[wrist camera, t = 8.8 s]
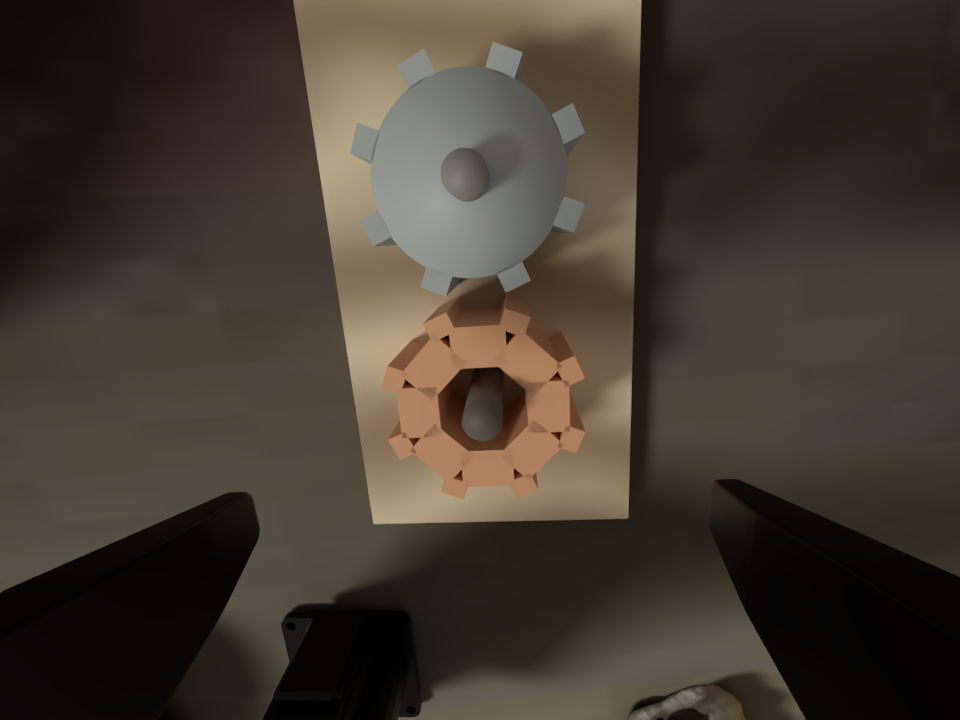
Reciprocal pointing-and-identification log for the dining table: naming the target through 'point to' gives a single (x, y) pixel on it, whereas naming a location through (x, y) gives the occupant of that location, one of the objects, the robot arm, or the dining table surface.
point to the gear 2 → (438, 410)
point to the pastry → (693, 706)
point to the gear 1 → (469, 171)
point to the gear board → (551, 267)
